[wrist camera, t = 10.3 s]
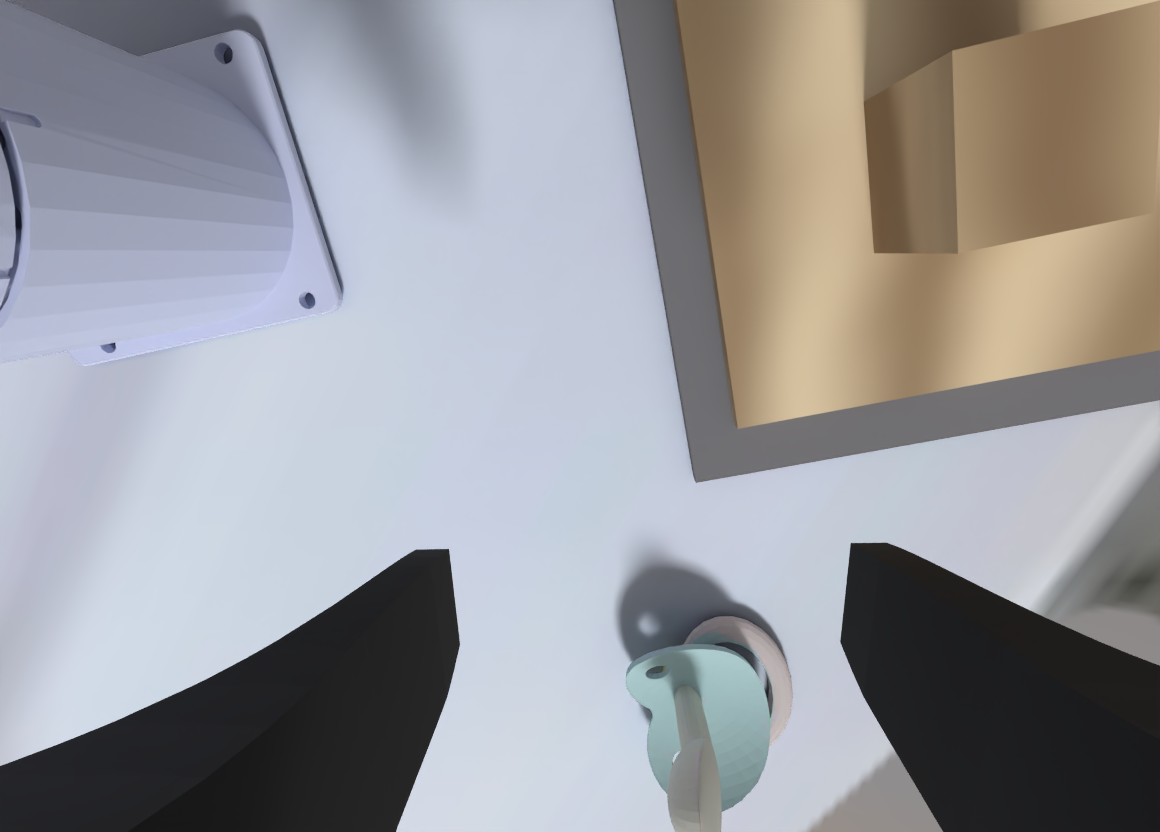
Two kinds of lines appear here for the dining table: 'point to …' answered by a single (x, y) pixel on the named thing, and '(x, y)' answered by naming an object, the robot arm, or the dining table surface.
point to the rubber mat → (698, 331)
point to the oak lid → (923, 191)
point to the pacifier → (711, 717)
